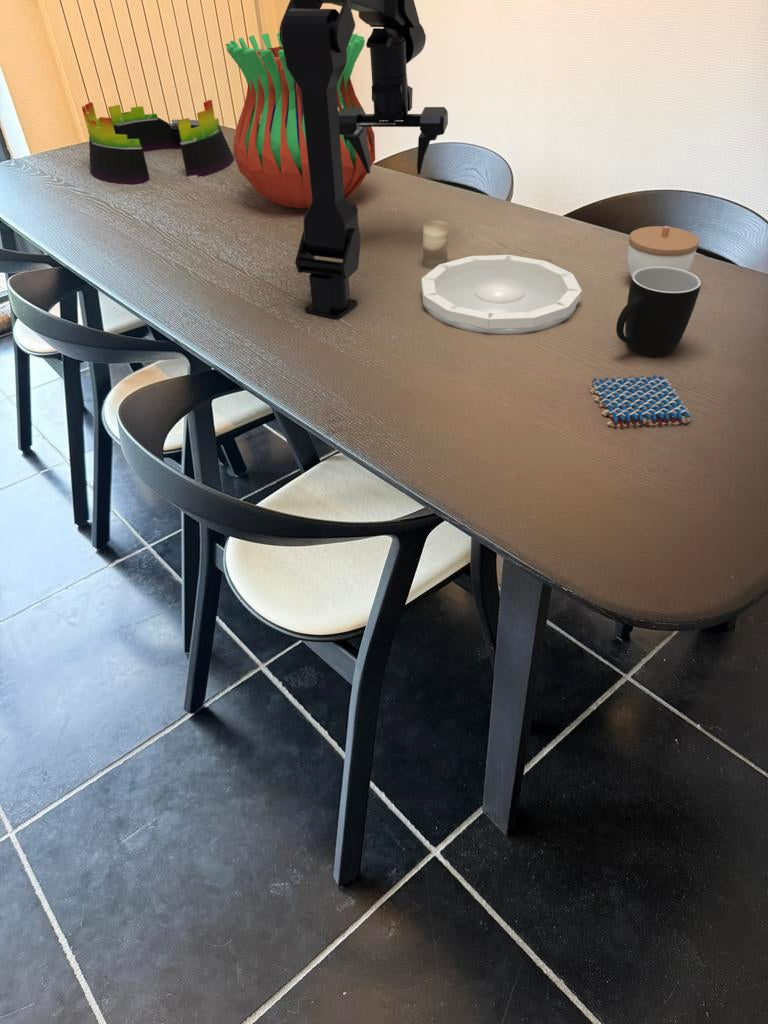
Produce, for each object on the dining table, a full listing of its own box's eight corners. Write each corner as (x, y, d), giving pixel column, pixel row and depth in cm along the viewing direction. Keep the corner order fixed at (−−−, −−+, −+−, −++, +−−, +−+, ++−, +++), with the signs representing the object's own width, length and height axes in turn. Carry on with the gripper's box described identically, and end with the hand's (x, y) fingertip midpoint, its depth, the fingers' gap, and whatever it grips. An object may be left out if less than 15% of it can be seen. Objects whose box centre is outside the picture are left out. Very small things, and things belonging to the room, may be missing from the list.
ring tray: (546, 347, 103) (548, 331, 101) (395, 314, 113) (395, 299, 111) (596, 284, 119) (598, 269, 118) (460, 260, 129) (461, 246, 127)
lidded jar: (642, 300, 114) (655, 242, 108) (608, 276, 122) (619, 220, 116) (700, 291, 116) (716, 234, 110) (664, 267, 124) (677, 212, 118)
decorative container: (263, 156, 189) (254, 91, 179) (162, 194, 165) (146, 122, 156) (164, 141, 204) (151, 81, 194) (59, 174, 181) (39, 107, 171)
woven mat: (662, 385, 95) (665, 371, 94) (691, 429, 87) (696, 415, 86) (585, 388, 95) (587, 375, 94) (607, 433, 87) (610, 419, 86)
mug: (649, 327, 107) (664, 261, 100) (696, 351, 101) (716, 282, 94) (589, 348, 103) (601, 280, 96) (635, 374, 97) (651, 303, 90)
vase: (400, 188, 163) (398, 31, 144) (332, 230, 143) (320, 55, 123) (290, 174, 174) (275, 27, 155) (214, 210, 154) (185, 47, 135)
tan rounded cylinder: (440, 270, 126) (441, 230, 121) (418, 266, 127) (418, 226, 123) (451, 261, 129) (452, 222, 124) (429, 258, 130) (430, 219, 126)
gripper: (452, 59, 119) (451, 157, 130) (345, 61, 123) (353, 156, 134) (443, 78, 112) (443, 180, 123) (329, 80, 115) (339, 179, 126)
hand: (394, 173), depth 127 cm, fingers open, 9 cm apart
